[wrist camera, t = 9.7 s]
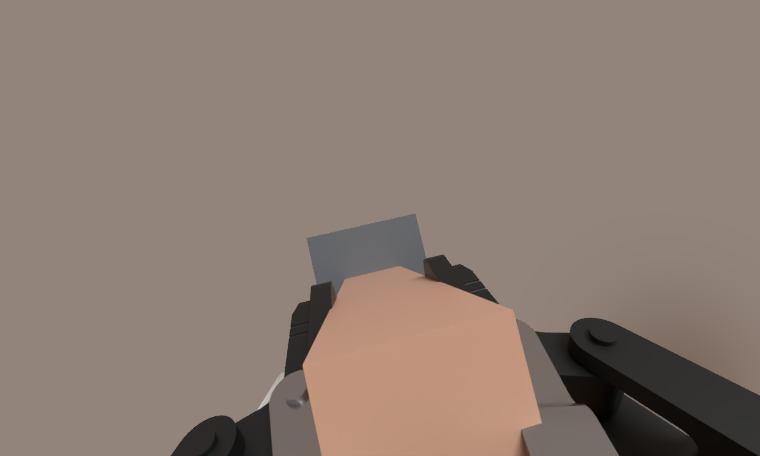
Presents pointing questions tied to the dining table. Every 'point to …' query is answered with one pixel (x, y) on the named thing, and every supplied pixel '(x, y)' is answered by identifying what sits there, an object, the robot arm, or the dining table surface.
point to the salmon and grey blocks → (411, 355)
